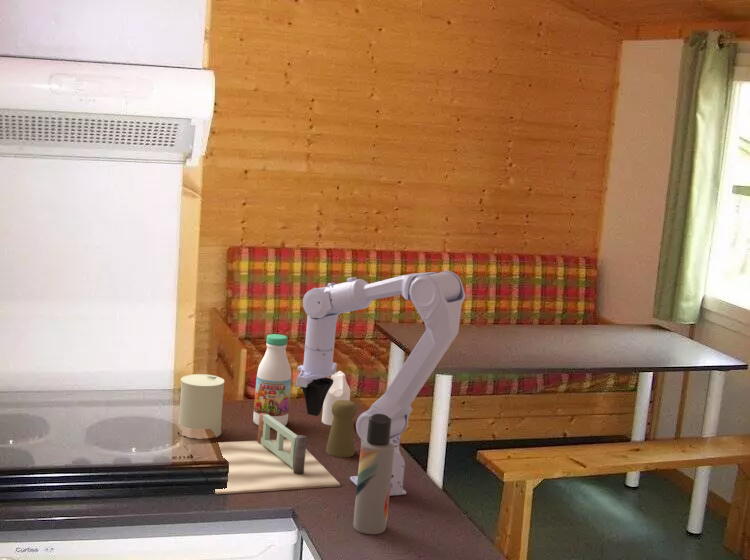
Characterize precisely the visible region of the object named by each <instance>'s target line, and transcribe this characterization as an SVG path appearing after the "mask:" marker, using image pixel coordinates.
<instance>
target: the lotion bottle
mask: <svg viewBox="0 0 750 560" xmlns="http://www.w3.org/2000/svg"><path fill="white" fill-rule="evenodd" d="M391 421H392V419H391V418H389V417H388V416H386V415H384V414H374V415H372V416H370V417H369V423H368V432H367V440H364V441H363V442H362V443H361V442H360V443H361V444H360V449H359V459H358V460H359V462H358V469H357V470H358V471H357V476H358V480H357V486H356V491H355V502H354V514H353V529H354V530H355V531H356V532H358V533H361V534H366V535H379V534H383V533H384V532H385V531H386V529H387V522H388V513H389V505H390V504H389V503H390V502H389V501H390V496H389V495H390V485H391V476H392V466H393V456H394V445H393V444H392V443H391V442H390V433H391Z"/></svg>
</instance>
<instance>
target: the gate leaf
mask: <svg viewBox="0 0 750 560" xmlns="http://www.w3.org/2000/svg"><path fill="white" fill-rule="evenodd" d="M263 421H264V424H263V437H261V443H262V444H263V445H264V446H265V447H267V448H268V449H269V450H271V451H272V452H273V453H274V454H276V455H277V456H278V457H279V458H281V459H282V460H283V461H285V462H286V463H287V464H288V465H290V466H291V467H292V468H294V459H295V447H296V436H298V435H297V434H296V433H294V432H293V431H292V430H290V429H289V428H288V427H286V425H285V426H284V425H282V424H281V423H279V422H278V421H277V420H275V419H274V418H272V417H271V416H270V415H263ZM270 426H271V427H272V428H270ZM271 429H273V430H275V431H276V439H275V440H276V444H275V443H274V442H273V441H271V440H272V439H271V438H270V433H271ZM284 439H288V440H290V441H291V452H290V454H288V453H287V452H286V451H284V450H283V442H284Z"/></svg>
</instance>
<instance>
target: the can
mask: <svg viewBox="0 0 750 560" xmlns="http://www.w3.org/2000/svg"><path fill="white" fill-rule="evenodd" d="M225 382H226V381H225V379H224V378H222V377H219V376H218V375H213V374H203V373H196V374H195V373H194V374H188V375H184V376H182V377H181V378H180V396H179V398H180V399H179V413H178V424H181V425H182V426H184V427H187V428H192V429H211V430H212V431H213V432H214V434H215V436H216V437H215V438H218V437H219V436H221V434H222V416H223V415H222V414H223V400H224V389H225V388H224V387H225Z"/></svg>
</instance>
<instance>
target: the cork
mask: <svg viewBox="0 0 750 560" xmlns="http://www.w3.org/2000/svg"><path fill="white" fill-rule="evenodd" d="M357 409H358V408H357V405H356V403H355V402H353V401H352V400H350V401H348V400H338V401H335V402H334V403H333V405H332V414H333V416H334V417H333V421H332V426H331V425H330V426H331V427H330V431H329V434H328V439H327V443H326V448H325V453H326V454H328V455H330V456H332V457H337V458H349V457H352V456H354V455H355V433H354V432H355V431H354V430H355V429H354V428H355V427H354V417H356V414H357V412H358V411H357Z"/></svg>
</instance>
